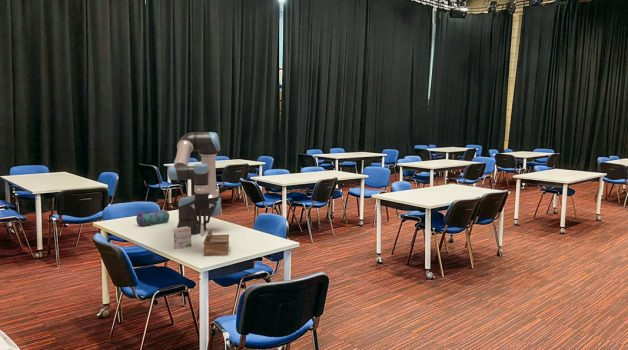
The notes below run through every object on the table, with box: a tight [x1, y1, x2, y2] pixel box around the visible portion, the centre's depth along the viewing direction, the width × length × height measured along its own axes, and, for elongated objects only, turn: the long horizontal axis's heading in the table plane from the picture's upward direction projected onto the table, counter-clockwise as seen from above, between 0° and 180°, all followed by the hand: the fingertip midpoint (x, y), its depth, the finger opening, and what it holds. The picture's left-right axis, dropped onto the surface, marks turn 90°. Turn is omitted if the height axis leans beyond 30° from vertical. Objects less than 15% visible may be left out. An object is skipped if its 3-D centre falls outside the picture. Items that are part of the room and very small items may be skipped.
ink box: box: [172, 227, 192, 250], centre depth 269 cm, size 9×5×12 cm, turn 131°
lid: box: [203, 229, 230, 245], centre depth 259 cm, size 17×12×4 cm
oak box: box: [203, 238, 230, 257], centre depth 260 cm, size 16×12×7 cm
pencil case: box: [135, 208, 170, 227], centre depth 330 cm, size 21×9×10 cm, turn 139°
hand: (202, 235), depth 258 cm, fingers closed
